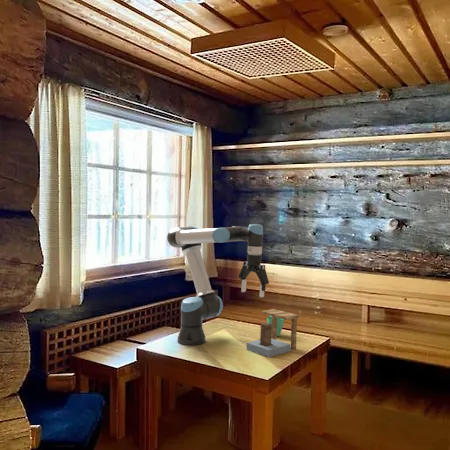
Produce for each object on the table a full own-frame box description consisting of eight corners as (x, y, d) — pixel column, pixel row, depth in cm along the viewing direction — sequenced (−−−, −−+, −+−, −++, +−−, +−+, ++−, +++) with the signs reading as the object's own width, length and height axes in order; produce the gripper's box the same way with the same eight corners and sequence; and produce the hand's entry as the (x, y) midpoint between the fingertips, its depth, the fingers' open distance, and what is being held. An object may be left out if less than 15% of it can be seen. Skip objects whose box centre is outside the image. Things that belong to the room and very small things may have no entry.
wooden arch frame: (261, 344, 266) (262, 311, 265) (273, 341, 272) (273, 308, 271) (286, 353, 253) (287, 317, 252) (298, 349, 259) (299, 315, 258)
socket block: (246, 349, 258) (246, 342, 258) (268, 343, 268) (268, 337, 268) (268, 357, 246) (268, 350, 245) (290, 351, 256) (290, 344, 256)
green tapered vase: (286, 337, 281) (286, 320, 281) (270, 338, 279) (270, 320, 278) (277, 330, 295) (277, 313, 295) (261, 331, 293) (262, 314, 292)
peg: (260, 350, 256) (260, 324, 255) (265, 349, 258) (266, 322, 258) (265, 352, 253) (266, 325, 252) (271, 351, 255) (271, 324, 255)
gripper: (233, 251, 264) (231, 290, 266) (266, 257, 245) (264, 300, 247) (243, 250, 269) (241, 289, 271) (277, 256, 250) (274, 298, 252)
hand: (252, 294), depth 259 cm, fingers open, 13 cm apart
